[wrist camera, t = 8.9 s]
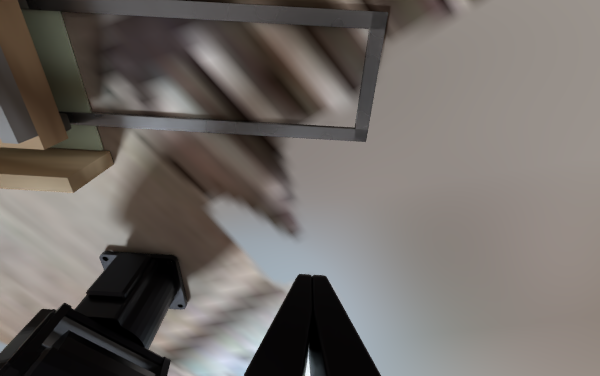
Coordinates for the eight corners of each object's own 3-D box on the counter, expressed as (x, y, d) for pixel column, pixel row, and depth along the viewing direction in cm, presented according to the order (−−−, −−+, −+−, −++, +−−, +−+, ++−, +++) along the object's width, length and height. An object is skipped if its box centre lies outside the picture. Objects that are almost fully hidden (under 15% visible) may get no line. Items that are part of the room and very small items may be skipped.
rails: (365, 140, 19) (365, 141, 19) (-63, 114, 19) (-68, 116, 19) (386, 12, 15) (388, 12, 15) (-139, -17, 16) (-147, -18, 15)
